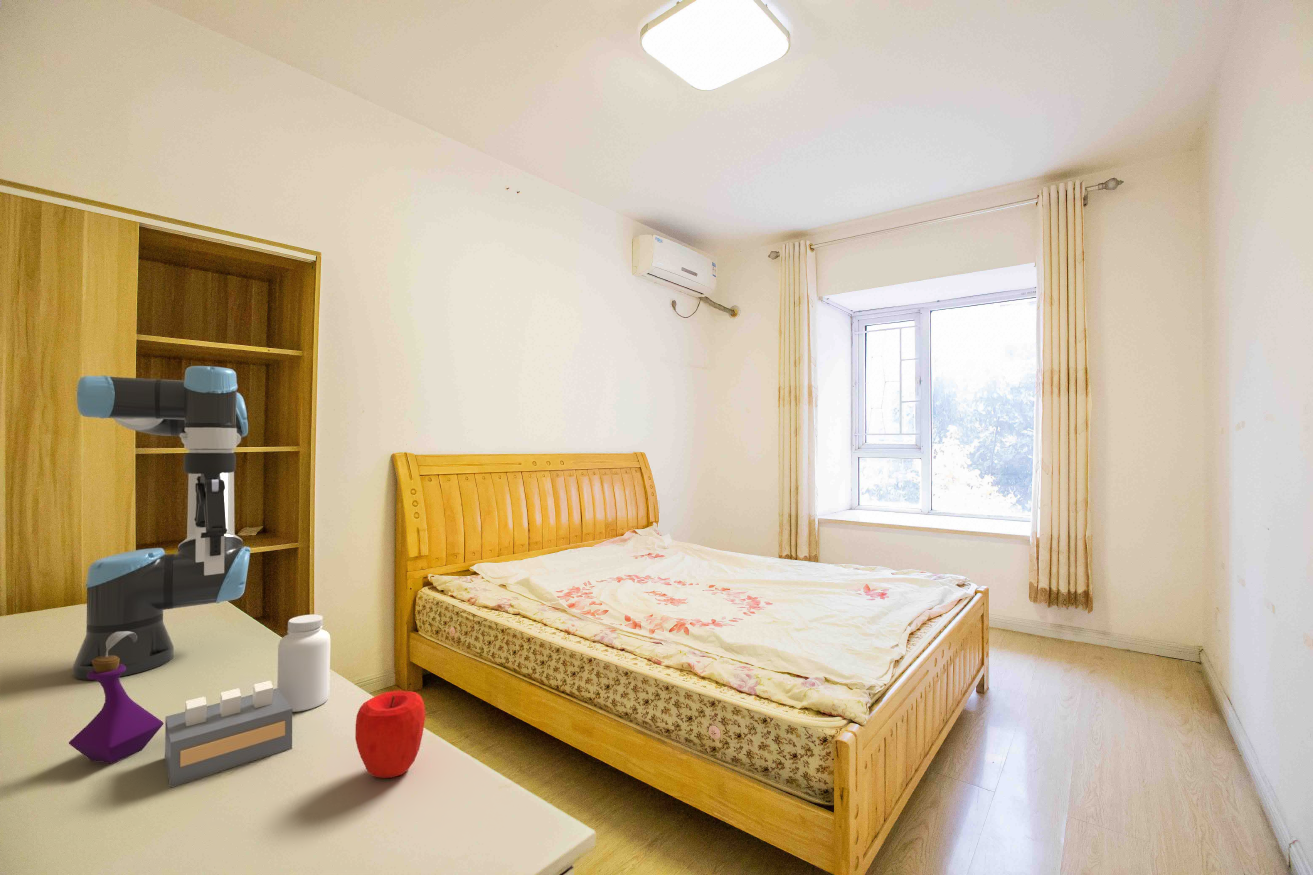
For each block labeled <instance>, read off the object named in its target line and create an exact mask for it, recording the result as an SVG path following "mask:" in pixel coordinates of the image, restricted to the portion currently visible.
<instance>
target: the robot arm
mask: <svg viewBox="0 0 1313 875" xmlns="http://www.w3.org/2000/svg"><path fill="white" fill-rule="evenodd" d="M237 382H238V381H237V373H236V371H234V369H232V368H227V367H221V366H205V365H193V366H192V365H191V366H189V367H187V368H186V369H185V373H184V380H180V379H179V380H177V379H162V378H161V379H157V378H156V379H154V378H138V377H122V376H109V375H84V376H82V377H80V378H79V380H78V383H77V387H76V388H77V390H76V404H77V411H78V413H79V414H80V415H81V416H82V417H86V418H99V419H113V420H114V421H115V423H117V424H118V425H120V426H121V427H123V428H126V429H128V430H132V431H135V432H139V433H142V434H143V433H144V434H150V435H157V436H163V437H165V436H166V437H170V436H171V437H179V438H180V439H181V443H182V444H183V445H184V446H183V447H184V449H185V450H188V452H185V454H184V455H183V472H184V473H185V474H188V482H187V483H188V489H187V520H186V521H187V524H186V525H187V527H186V530H187V531H186V533H187V534H186V538H185V539H184V540H183V541H182V542H180V543H179V544H178V546H177V553H169V554H166V552H165V549H164V548H162V547H154V548H153V547H151V548H143V549H142V548H141V549H136V550H132V551H131V550H130V551H127V552H122V553H117V554H113V555H109V556H105V557H102V558H99V559H98V560H95V561H94V562H92V563H91V564H90V566H89V567H88V569H87V570H88V571H87V579H86V584H85V588H86V629H85V630H86V631H85V632H86V633H85V637H84V640H83V641H82V644H81V647H80V648H79V651H78V653H77V655H76V658H75V661H74V662H73V666H72V670H73V672H72V674H73V675H72V677H73V678H74V679H77V680H83V681H94V680H95V679H89V678H88V677H87V675H88V673H89V672H90V671H91V670H94V667H93V664H92V660H93V659H95V658H96V657H99V656H105V655H106V641H107V639H108V638H109V636H111V635H112V634H113V633H115V632H123V631H130V632H133V633H135V634H136V636H137V640H136V642H135V643H134V642H133V640H132V638H131V637H129V636H128V635H127V636H125V637H124V638H122V639H121V640H120V641H119V642H117V643H116V644H115V645H114V646H113V647H112V648H110V649H109V651H108V655H114V656H117V657H119V658H120V661H119V664H123V665H124V666H125V667H126V670H125V671H124V672H123V673H121V675H120V677H125V676H129V675H134V674H138V673H142V672H146V671H149V670H151V669H155V668H157V667H160V666H162V665H164V664H166V663H168V662H170V661H171V660H173V658H174V652H175V651H174V644H173V641H172V640H171V637H170V634H169V632H168V630H167V628H166V626H165V622H164V610H174V609H180V608H188V607H195V606H202V605H208V604H220V603H222V602H223V603H224V602H228V601H233V600H238V599H239V598H241V597H242V596H243V595H244V593H245V590H246V583H247V577H248V576H247V575H248V571H249V570H248V569H249V563H250V556H251V547H249V546H244V543H243V542H244V541H243V539H242V538H241V537H239V536H238V535H236V534H235V471H236V469H237V468H236V467H237V454H236V453H235V452H234V450H236V449H237V446H238V445H239V444H240V443H241V441H242V438H244V437H246V436H247V435H248V433H249V423H248V419H247V417H248V415H247V414H248V412H247V407H246V404H245V400H244V397H243V396H242V395H241V393H239V392H238V391H237V390H238V387H239V386H238V383H237ZM120 677H119V678H120ZM95 681H96V680H95Z"/></svg>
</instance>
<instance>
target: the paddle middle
mask: <svg viewBox="0 0 1313 875" xmlns="http://www.w3.org/2000/svg"><path fill="white" fill-rule="evenodd" d="M241 697H242V694H241V690H240V687H238V688H234V689H230V690H226V691H221V692H220V697H219V698H220V699H219V701H220V702H219V703H220V712H221V716H222V717H224V716H228V715H232V714H236V713H239V712H240V707H241Z"/></svg>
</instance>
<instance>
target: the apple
mask: <svg viewBox="0 0 1313 875" xmlns="http://www.w3.org/2000/svg"><path fill="white" fill-rule="evenodd" d="M426 715H427V714H426V706H425V702H424V699H423V698H422V696H421V695H420V694H419V693H417V692H416V691H415V692H414V691H409V690H393V691H392V690H391V691H387V692H384V693H380V694H377V695H376V696H373V697H371V698H370V699H368V700H367V701H365V702H363V704H362V705H361V706H360V707H359V709H358V711H357V714H356V718H355V733H354V734H355V742H356V747H357V750H358V753H359V756H360V758H361V760H362V763H363V765H364V766H365V769H366V771H367V772H368V773H369V774H370V776H373V777H375V778H381V779H382V778H383V779H385V778H395V777H398V776H401V775H403V774H404V773H406V772H407V771H408V770H409V769H410V768H411V766H412V765H413V764H414V762H415V760H416V758H417V755H418V753H419V749H420V747H421V744H422V743H421V742H422V738H423V735H424V728H425V723H426V722H425V721H426Z"/></svg>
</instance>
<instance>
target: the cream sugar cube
mask: <svg viewBox="0 0 1313 875" xmlns="http://www.w3.org/2000/svg"><path fill="white" fill-rule="evenodd" d="M272 683H273V682H272V680H266V681H263V682H258V683H255V684H253V685H252V686H253V687H252V695H253V704H254V707H255V708H258V707H262V706H265V705H269V704H272V698H273V689H274V686H273V684H272Z"/></svg>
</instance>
